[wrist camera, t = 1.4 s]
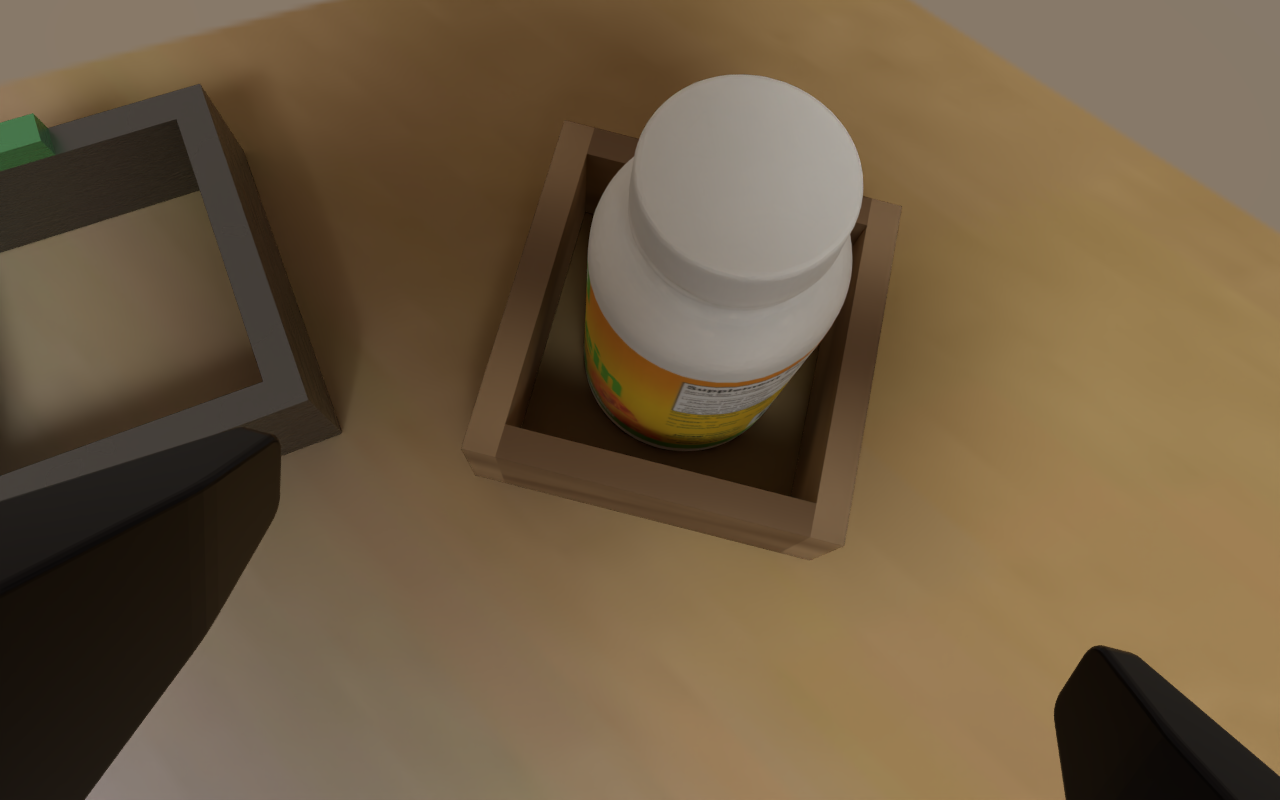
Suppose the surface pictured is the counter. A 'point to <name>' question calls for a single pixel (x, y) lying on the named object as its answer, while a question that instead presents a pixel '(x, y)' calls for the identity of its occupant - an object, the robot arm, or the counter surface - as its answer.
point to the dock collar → (216, 165)
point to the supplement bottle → (718, 259)
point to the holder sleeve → (654, 488)
